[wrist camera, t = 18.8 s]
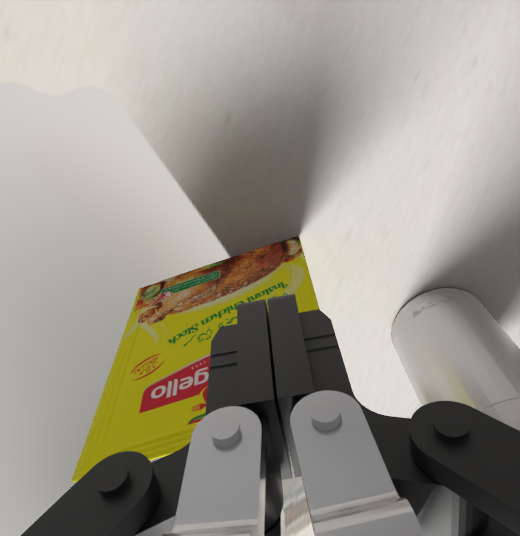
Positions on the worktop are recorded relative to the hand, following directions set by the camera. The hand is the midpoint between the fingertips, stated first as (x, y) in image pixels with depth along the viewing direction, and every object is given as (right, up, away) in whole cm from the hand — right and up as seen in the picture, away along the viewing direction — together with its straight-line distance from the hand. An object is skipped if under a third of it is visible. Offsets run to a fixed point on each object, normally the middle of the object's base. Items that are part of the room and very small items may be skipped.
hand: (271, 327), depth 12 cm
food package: (-4, +2, +30) cm, 30 cm away
